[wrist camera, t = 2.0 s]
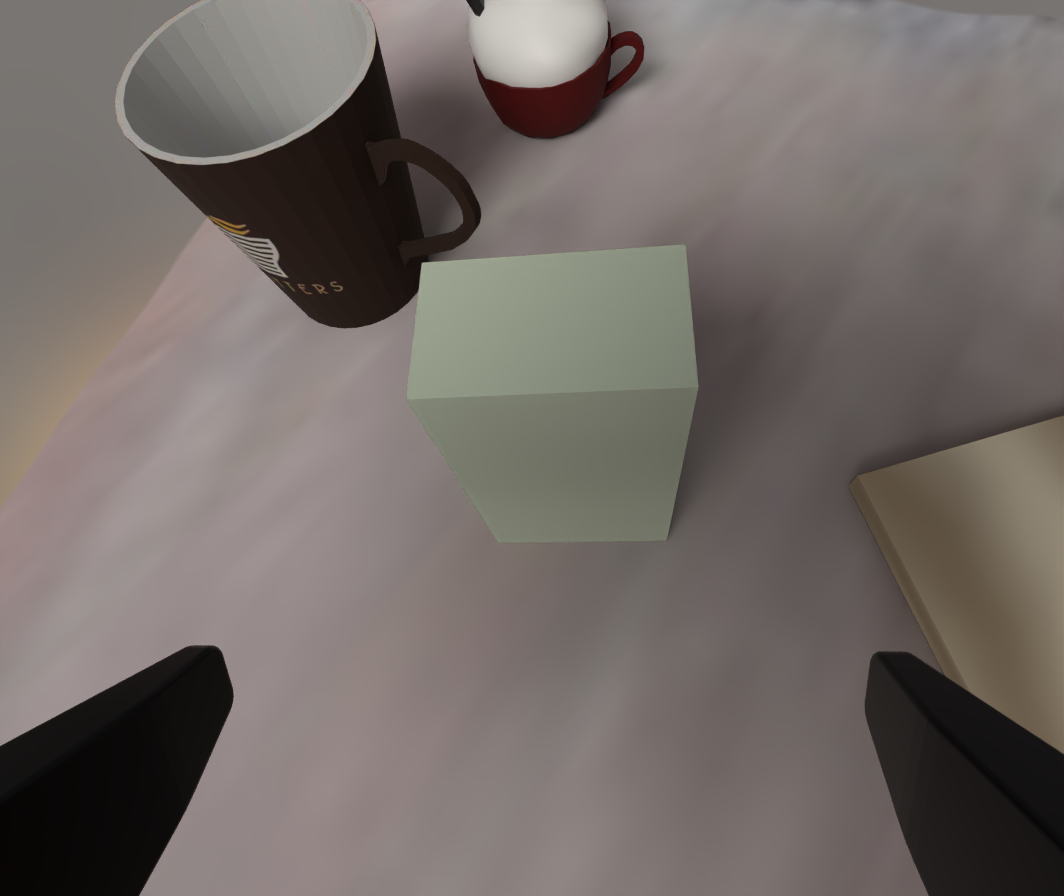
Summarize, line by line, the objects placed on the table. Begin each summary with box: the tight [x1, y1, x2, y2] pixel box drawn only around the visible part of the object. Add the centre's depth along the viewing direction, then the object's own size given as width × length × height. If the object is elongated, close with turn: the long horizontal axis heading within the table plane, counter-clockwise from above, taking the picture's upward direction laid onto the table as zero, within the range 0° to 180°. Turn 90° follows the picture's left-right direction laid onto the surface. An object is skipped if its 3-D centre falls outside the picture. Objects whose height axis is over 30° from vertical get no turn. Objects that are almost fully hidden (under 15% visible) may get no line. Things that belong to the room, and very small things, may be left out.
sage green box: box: [406, 244, 699, 543], centre depth 19 cm, size 4×6×11 cm, turn 89°
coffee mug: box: [115, 0, 481, 328], centre depth 25 cm, size 12×9×10 cm
